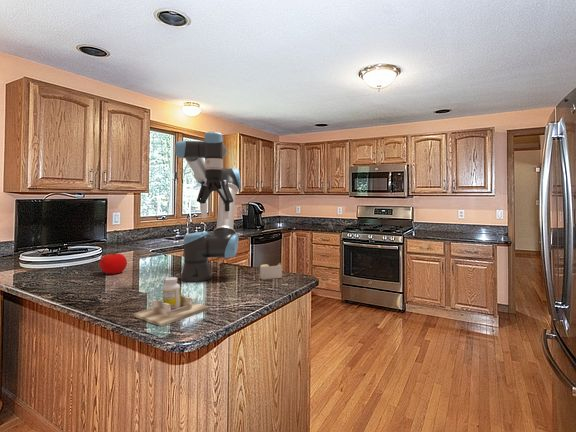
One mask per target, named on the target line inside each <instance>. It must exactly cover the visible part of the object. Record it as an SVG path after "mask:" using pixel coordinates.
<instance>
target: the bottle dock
mask: <svg viewBox="0 0 576 432" xmlns="http://www.w3.org/2000/svg"><path fill="white" fill-rule="evenodd" d="M192 300H193V298H192V297H189V296H186V295H183V294H180V301H181V307H180V308H177V309H174V310H171V306H170V304H168V303H164V302H163V301H160V300H157V299H151V308H150V307H149V308H147V309H142V310H140V311H136V312H134V313H133V314H132V316H133V317H134V318H137V319H140V320H142V321H145V322H148V323H151V324H154V325H156V326H157V327H158V326H159V327H163V326H165V325H168V324H172V323H174V322H177V321H179V320H180V321H181V320H183V319H185V318H188V317H192V316H194V315H197V314H199V313H203V312H205V311H208V310H210V306H209V305H205V304H201V303H197V302H194V301H192Z"/></svg>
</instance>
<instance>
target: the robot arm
mask: <svg viewBox="0 0 576 432" xmlns="http://www.w3.org/2000/svg"><path fill="white" fill-rule="evenodd" d="M223 141H224V140H223V134H222V133H220V132H218V131H217V132H216V131H209V132H205V134H204V140H202V141H201V140H199V141H198V140H179V141H177V142H176V143H175V146H174V150H175V151H174V152H175V155H176V158H178V159H184V160H185V161H186V162H187V164H188V166H189V167H190V169H191V171H192V172H193V177H194V179H195V180H196V182H197V183H199V184H200V188H199V191H198V195H197V198H196V202H198V203H199V205H200V207H199V208H200V219H207V218H208V203H207V201H208V199H209V197H210V195H211V194H212V192H217V193H218V196H219V197H218V208H217V220H216V228H214V229H213V232H212V234H209V232H208V231H198V232H192V233H187V234H185V236H183V266H182V271H181V274H180V281H182V282H187V283H195V282H196V283H197V282H206V281H209V280H211V279H212V278H213V274H212V271H211V267H210V264H209V258H210V259H211V258H212V259H215V258H216V259H217V258H218V259H219V258H220V259H221V258H225V259H228V258H234V257H236V255H237V253H238V248H239V239H240V238H239V235H238V234H237V231H235V229H234V225H235V223H234V221H235V203H236V195H237V193H238V192H239V190H240V189H242V184H241V176H240V170H239V169H238V168H233V167H230V168H224V164H223V163H224V157H225V156H226V154H227V148H226V145H225V144H224V143H223Z"/></svg>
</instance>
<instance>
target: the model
mask: <svg viewBox="0 0 576 432" xmlns="http://www.w3.org/2000/svg"><path fill="white" fill-rule="evenodd" d="M282 264H283V263H282V262H279V263H278V264H277V265H272V266H271V265H269V264H268V263H267V264H260V266H259V279H260V280H261V281H264V280H273V279H280V278H283V265H282Z"/></svg>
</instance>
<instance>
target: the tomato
mask: <svg viewBox="0 0 576 432" xmlns="http://www.w3.org/2000/svg"><path fill="white" fill-rule="evenodd" d="M127 265H128V260H127V258H126V256H125V255H123V254H122V253H117V252H116V253H115V252H113V253H108V254H104V256H102V257H101V259H100V261H99V268H100V270H101V271H102V272H104V273H106V274H109V275H110V274H111V275H115V274H119V273H122V272H123V271H124V270H125V269H126V268H127Z"/></svg>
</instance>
